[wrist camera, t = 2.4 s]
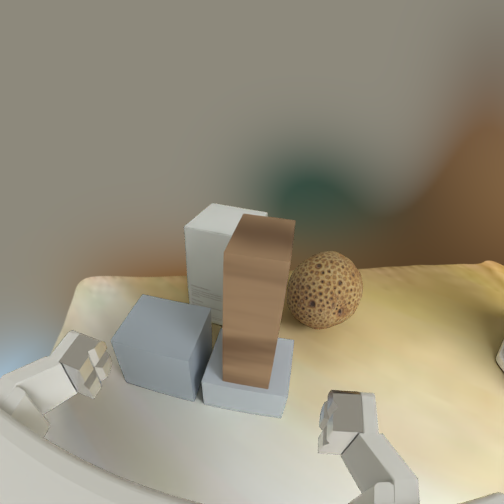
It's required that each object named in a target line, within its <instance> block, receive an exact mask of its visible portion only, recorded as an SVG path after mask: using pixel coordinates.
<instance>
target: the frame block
mask: <svg viewBox="0 0 504 504" xmlns="http://www.w3.org/2000/svg"><path fill="white" fill-rule="evenodd" d="M294 228H295V221H294V220H288V219H281V218H273V217H266V216H259V215H251V214H243V215H242V217H241V219H240V221H239V223H238V225H237V227H236V229H235V231H234V233H233V235H232V237H231V239H230V241H229V243H228V245H227V247H226V249H225V251H224V256H223V338H222V363H223V381H225V382H230V383H235V384H240V385H246V386H252V387H257V388H264V389H268V388H269V383H270V377H271V372H272V367H273V362H274V356H275V351H276V346H277V340H278V335H279V329H280V323H281V318H282V312H283V306H284V300H285V294H286V288H287V282H288V276H289V270H290V269H289V268H290V263H291V255H292V247H293V238H294Z"/></svg>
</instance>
